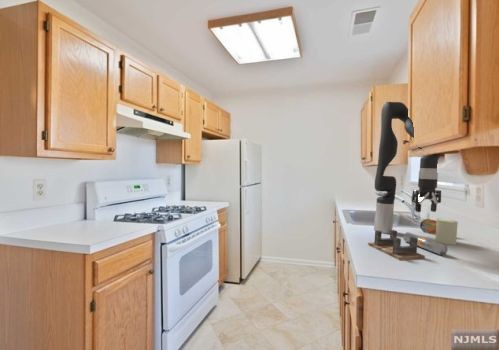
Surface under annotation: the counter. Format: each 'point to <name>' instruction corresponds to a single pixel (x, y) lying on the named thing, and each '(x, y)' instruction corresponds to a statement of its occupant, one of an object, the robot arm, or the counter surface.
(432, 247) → the tube
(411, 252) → the cradle stand
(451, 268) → the counter surface
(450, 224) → the can
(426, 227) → the tin
